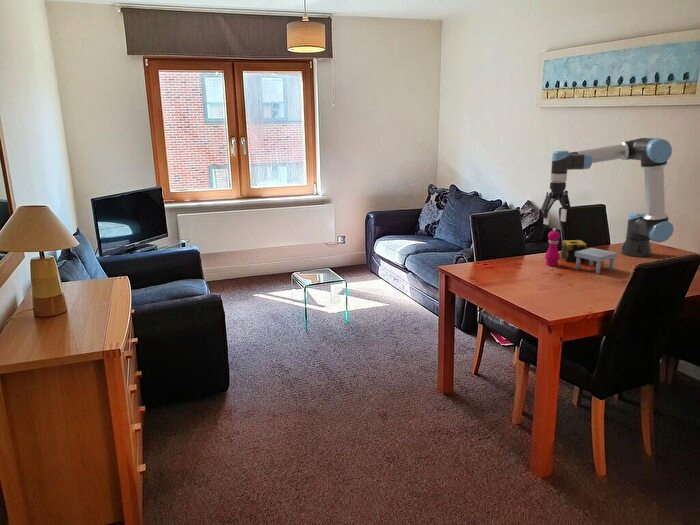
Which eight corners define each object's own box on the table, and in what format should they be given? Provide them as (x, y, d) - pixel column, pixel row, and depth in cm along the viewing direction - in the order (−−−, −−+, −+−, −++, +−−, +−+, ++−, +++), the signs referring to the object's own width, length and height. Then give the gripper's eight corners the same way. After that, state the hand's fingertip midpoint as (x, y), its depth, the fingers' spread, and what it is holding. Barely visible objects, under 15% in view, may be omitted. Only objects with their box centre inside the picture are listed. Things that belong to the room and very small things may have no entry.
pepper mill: (557, 267, 269) (560, 230, 264) (543, 265, 273) (545, 228, 268) (560, 264, 275) (563, 227, 270) (546, 262, 279) (548, 226, 274)
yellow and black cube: (579, 257, 287) (581, 240, 285) (585, 262, 278) (587, 244, 275) (560, 257, 288) (562, 240, 286) (566, 262, 279) (567, 244, 276)
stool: (590, 264, 273) (591, 247, 271) (615, 270, 262) (617, 252, 260) (573, 268, 266) (575, 251, 264) (598, 274, 255) (600, 257, 253)
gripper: (567, 179, 272) (563, 219, 277) (535, 182, 259) (532, 224, 265) (580, 180, 266) (576, 221, 271) (548, 184, 253) (544, 226, 259)
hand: (554, 222), depth 268 cm, fingers open, 13 cm apart
